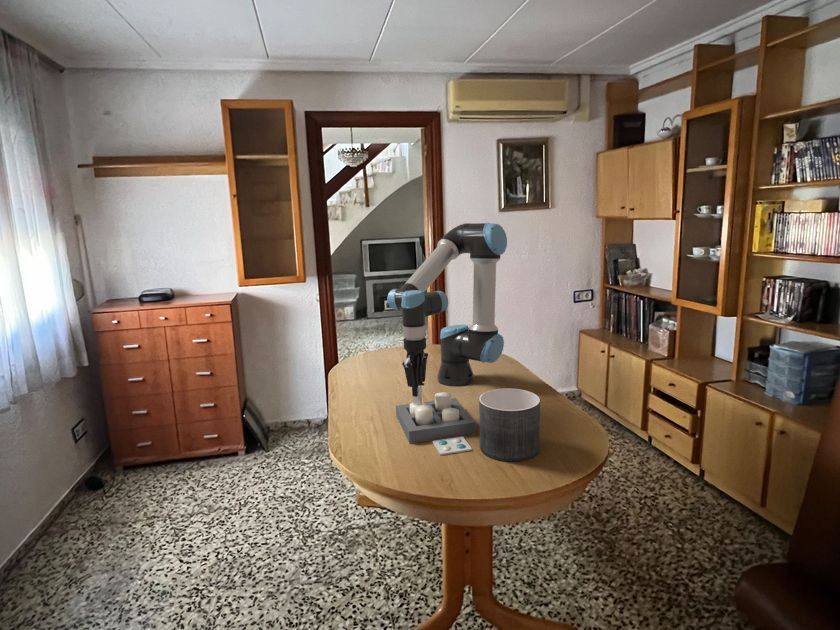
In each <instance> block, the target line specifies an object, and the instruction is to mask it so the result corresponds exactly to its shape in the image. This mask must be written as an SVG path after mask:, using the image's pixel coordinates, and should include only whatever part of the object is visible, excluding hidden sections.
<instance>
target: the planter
mask: <svg viewBox="0 0 840 630" xmlns="http://www.w3.org/2000/svg"><path fill="white" fill-rule="evenodd" d="M478 409H479V410H478V412H479V413H478V414H479V415H478V417H479V418H478V419H479V448H480V450H481V452H482V453H483V454H484V455H485V456H487V457H489V458H491V459H494V460H497V461H503V462H522V461H527V460H530V459H531V458H534V457H535V456H537V455H538V454H539V451H540V421H541V420H540V418H541V398H540V397H539V396H538V394H536V393H534V392H532V391H529V390H525V389H520V388H511V387H509V388H496V389H490V390H488V391H485V392H483V393H481V394H480V396H479V397H478Z"/></svg>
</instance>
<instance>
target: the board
mask: <svg viewBox="0 0 840 630" xmlns="http://www.w3.org/2000/svg"><path fill="white" fill-rule="evenodd" d="M423 402H424V403H426V405H429V406H431V407H432V412H433V424H429V425H422V426H416V417H415V415H410V403H407V404H397V405H395V416H396V418H397V421H398V420H399V421H398V423H399V424H400V426H401V429H402V431H403V433H404V435H405V437H406V439H407V441H408V443H409V444H414V443H422V442H428V441H434V440H441V439H448V438H455V437H462V436H463V437H464V436H468V435H469V436H470V435H475V434H477V422H476V420H475V419H474V418H473V417H472V415H470V413H469V412H468V410H467V409H466V408H465V407H464V406H463V405H462V404H461V403H460V401H459V400H458V399H457V398H456V397H451V408H456V409H458V410H459V420H458V421H451V422H444V423H443V421H442V411H440V412H436V411H435V400H427V401H423Z"/></svg>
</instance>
